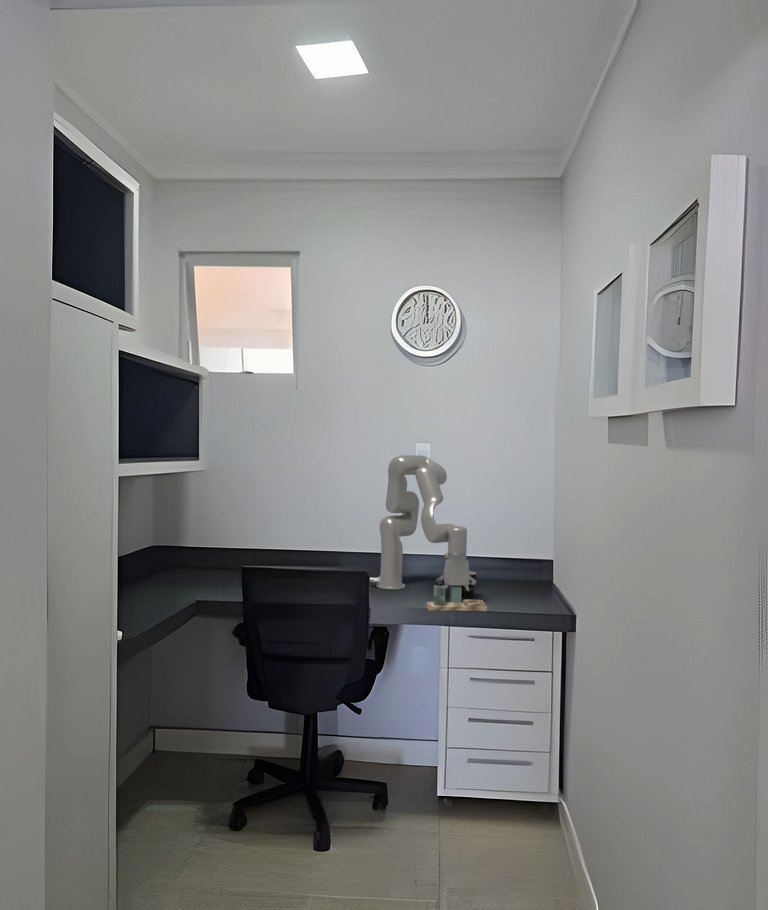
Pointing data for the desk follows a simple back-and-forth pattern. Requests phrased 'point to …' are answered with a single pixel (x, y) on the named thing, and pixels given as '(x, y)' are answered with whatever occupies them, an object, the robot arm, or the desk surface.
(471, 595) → the coffee mug
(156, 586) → the desk surface
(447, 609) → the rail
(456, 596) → the pale green block
